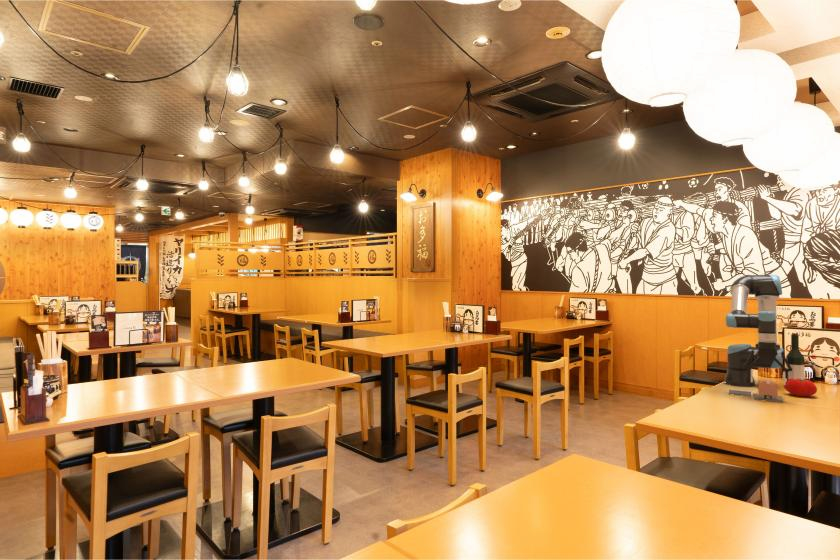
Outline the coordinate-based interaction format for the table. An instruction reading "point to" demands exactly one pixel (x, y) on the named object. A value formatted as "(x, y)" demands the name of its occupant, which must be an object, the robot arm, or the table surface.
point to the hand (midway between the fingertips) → (767, 383)
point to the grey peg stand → (768, 398)
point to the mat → (740, 392)
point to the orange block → (768, 388)
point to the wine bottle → (795, 359)
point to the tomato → (800, 387)
